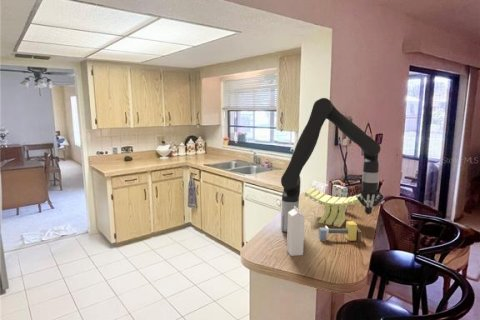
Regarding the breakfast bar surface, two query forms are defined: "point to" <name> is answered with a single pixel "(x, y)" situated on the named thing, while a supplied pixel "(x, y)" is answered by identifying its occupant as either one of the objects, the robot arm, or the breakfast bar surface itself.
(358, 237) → the tan flat end block
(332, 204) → the slatted curved stool
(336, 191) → the candy bar box
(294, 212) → the milk
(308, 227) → the breakfast bar surface
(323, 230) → the block
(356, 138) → the robot arm
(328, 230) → the pale beige end plate
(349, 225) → the yellow sliding collar
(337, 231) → the grey slider rail
